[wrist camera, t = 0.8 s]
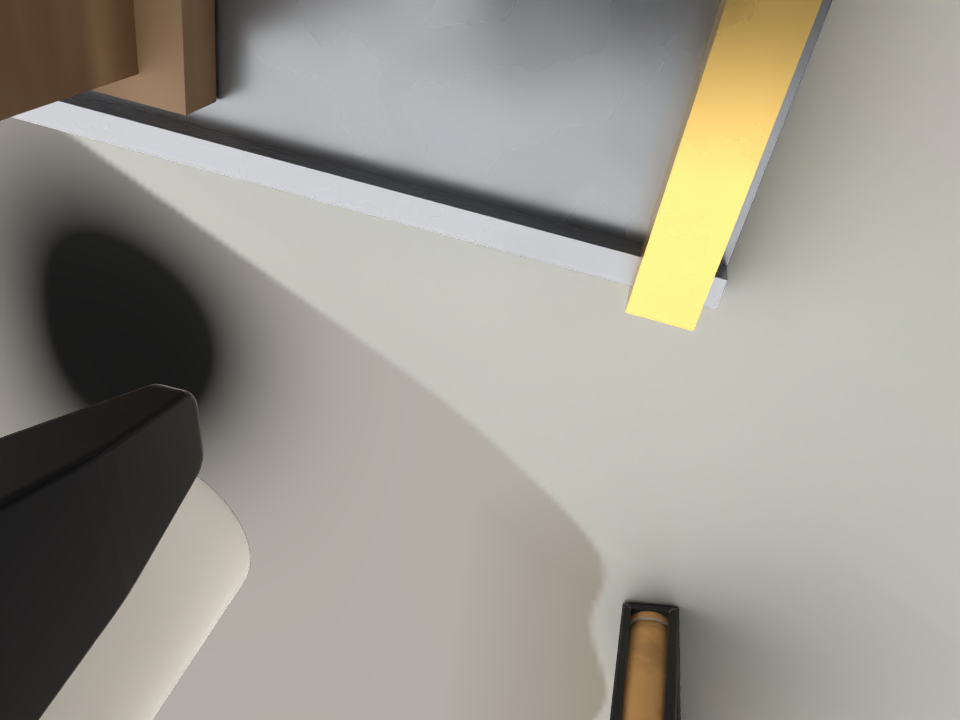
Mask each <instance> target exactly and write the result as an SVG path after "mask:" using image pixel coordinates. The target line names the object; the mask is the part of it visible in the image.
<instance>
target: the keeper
mask: <svg viewBox="0 0 960 720" xmlns="http://www.w3.org/2000/svg"><path fill="white" fill-rule="evenodd" d="M90 90H92V91H96V92H100V93H103V94H107V95H111V96H115V97H119V98H122V99H126V100H130V101H134V102H137V103H141V104H145V105H149V106H152V107H156V108H160V109H164V110H168V111H171V112H175V113H179V114H183V115H188V114H190V113H192V112H195V111H197V110H199V109H201V108H204V107H206V106H208V105H210V104H213V103H215V102H216V51H215V0H0V121H1V120H4V119H7V118H9V117H13V116H15V115H18V114H21V113H24V112H27V111H30V110H33V109H36V108H39V107H42V106H45V105H48V104H51V103H54V102H57V101H60V100H63V99H66V98H69V97H72V96H75V95H78V94H81V93H84V92H87V91H90Z"/></svg>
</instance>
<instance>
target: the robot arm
mask: <svg viewBox="0 0 960 720" xmlns="http://www.w3.org/2000/svg"><path fill="white" fill-rule="evenodd" d="M202 461H203V446H202V439H201V430H200V422H199V414H198V406H197V401H196V399H195V398H194V396H193V394H191V393H190V392H188V391H186V390H182V389H178V388H174V387H170V386H166V385H161V384H152V385H148V386H145V387H143V388H140V389H137V390H134V391H131V392H129V393H126V394H123V395H120V396H117V397H114V398H111V399H109V400H106V401H103V402H100V403H97V404H95V405H92V406H89V407H86V408H84V409H80V410H78V411H75V412H72V413H69V414H66V415H64V416H61V417H58V418H55V419H52V420H49V421H47V422H44V423H41V424H38V425H35V426H32V427H30V428H27V429H24V430H21V431H18V432H15V433H13V434H10V435H7V436H4V437H2V438H0V720H39V719H40V718H41V717H42V715H43V714H44V712H45V711H46V710H47V708H48V707H49V705H50V704H51V703H52V701H53V700H54V699H55V697H56V696H57V694H58V693H59V692H60V690H61V689H62V687H63V686H64V685H65V683H66V682H67V681H68V679H69V678H70V676H71V675H72V674H73V672H74V671H75V669H76V668H77V667H78V665H79V664H80V663H81V661H82V660H83V658H84V657H85V656H86V654H87V653H88V651H89V650H90V649H91V647H92V646H93V644H94V643H95V642H96V640H97V639H98V638H99V636H100V635H101V633H102V632H103V631H104V629H105V628H106V626H107V625H108V624H109V622H110V621H111V620H112V618H113V617H114V615H115V614H116V612H117V611H118V609H119V608H120V607H121V605H122V604H123V602H124V601H125V599H126V598H127V596H128V595H129V593H130V591H131V590H132V588H133V587H134V585H135V583H136V582H137V580H138V578H139V577H140V575H141V573H142V572H143V570H144V568H145V566H146V565H147V563H148V561H149V559H150V558H151V556H152V554H153V552H154V551H155V549H156V547H157V546H158V544H159V542H160V540H161V539H162V537H163V535H164V533H165V532H166V530H167V528H168V526H169V525H170V523H171V521H172V519H173V518H174V516H175V514H176V512H177V511H178V509H179V507H180V505H181V504H182V502H183V500H184V498H185V497H186V495H187V493H188V491H189V490H190V488H191V486H192V485H193V483H194V481H195V479H196V478H197V475H198V473H199V471H200V468H201V465H202Z"/></svg>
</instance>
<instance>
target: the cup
mask: <svg viewBox="0 0 960 720" xmlns="http://www.w3.org/2000/svg"><path fill="white" fill-rule="evenodd" d="M250 564H251V563H250V548H249V545H248V541H247V538H246V534H245V532H244V530H243V528H242V526H241V524H240V522H239V520H238V518H237V517H236V516H235V514H234V513H233V511H232V510H231V509H230V508H229V506H228V504H227V503H226V502H225V501H224V500H223V499H222V498H221V497H220V496H219V495H218V494H217V493H216V492H215V491H214V489H213V488H212V487H211V486H209V485H208V484H207V483H206V482H204V481H203V480H202V479H200V478H199V477H198V476H197V478H196V479H195V481H194V483H193V485H192V486H191V488H190V490H189V491H188V493H187V495H186V497H185V498H184V500H183V502H182V504H181V505H180V507H179V509H178V511H177V512H176V514H175V516H174V518H173V519H172V521H171V523H170V525H169V526H168V528H167V530H166V532H165V533H164V535H163V537H162V539H161V540H160V542H159V544H158V546H157V547H156V549H155V551H154V552H153V554H152V556H151V558H150V559H149V561H148V563H147V565H146V566H145V568H144V570H143V572H142V573H141V575H140V577H139V578H138V580H137V582H136V583H135V585H134V587H133V588H132V590H131V591H130V593H129V595H128V596H127V598H126V599H125V601H124V602H123V604H122V605H121V607H120V608H119V609H118V611H117V612H116V614H115V615H114V617H113V618H112V620H111V621H110V622H109V624H108V625H107V626H106V628H105V629H104V631H103V632H102V633H101V635H100V636H99V638H98V639H97V640H96V642H95V643H94V644H93V646H92V647H91V649H90V650H89V651H88V653H87V654H86V656H85V657H84V658H83V660H82V661H81V663H80V664H79V665H78V667H77V668H76V669H75V671H74V672H73V674H72V675H71V676H70V678H69V679H68V681H67V682H66V683H65V685H64V686H63V687H62V689H61V690H60V692H59V693H58V694H57V696H56V697H55V699H54V700H53V701H52V703H51V704H50V705H49V707H48V708H47V710H46V711H45V712H44V714H43V715H42V717H41V718H40V719H39V720H153V718H154V717H155V715H156V714H157V712H158V711H159V709H160V707H161V706H162V705H163V703H164V702H165V700H166V699H167V697H168V696H169V694H170V692H171V691H172V689H173V688H174V686H175V685H176V683H177V682H178V680H179V679H180V677H181V676H182V674H183V673H184V671H185V670H186V668H187V667H188V665H189V664H190V662H191V661H192V659H193V658H194V656H195V655H196V653H197V652H198V650H199V649H200V647H201V646H202V644H203V643H204V641H205V640H206V638H207V637H208V635H209V634H210V632H211V631H212V629H213V627H214V626H215V625H216V623H217V621H218V620H219V619H220V617H221V616H222V614H223V613H224V611H225V610H226V608H227V607H228V605H229V604H230V602H231V601H232V599H233V598H234V596H235V595H236V593H237V591H238V590H239V589H240V587H241V585H242V584H243V582H244V581H245V579H246V578H247V576H248V572H249V568H250Z"/></svg>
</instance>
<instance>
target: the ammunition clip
mask: <svg viewBox="0 0 960 720" xmlns="http://www.w3.org/2000/svg"><path fill="white" fill-rule="evenodd" d="M610 720H681V717H680V647H679V609H677V608H673V607H662V606H651V605H640V604H630V603H624V604H623V607H622V616H621V625H620V634H619V643H618V652H617V661H616V670H615V679H614V688H613V697H612V706H611V715H610Z"/></svg>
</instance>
